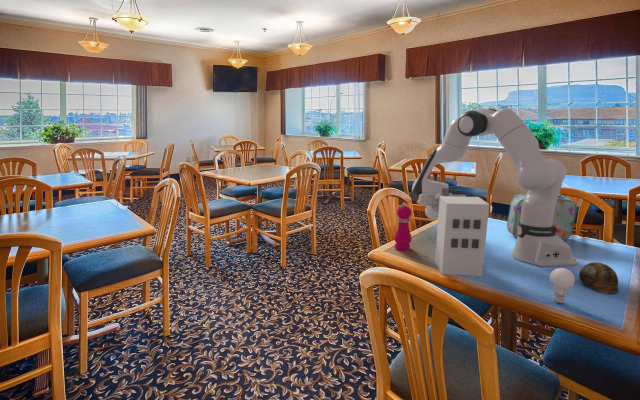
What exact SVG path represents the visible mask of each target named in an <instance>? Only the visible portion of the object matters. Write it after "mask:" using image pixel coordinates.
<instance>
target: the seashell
mask: <svg viewBox="0 0 640 400" xmlns="http://www.w3.org/2000/svg"><path fill="white" fill-rule="evenodd" d="M578 277H579V280H580V282H581V283H582V284H583V285H585V286H588V287H589V288H591V289H593V290H595V291H596V292H600V293H601V294H605V293H607V294H606V295H613V294H617V293H619V277H618V275H617V273H616V271H615V270H614V269H613V268H612V267H610V266H609V265H608V264H605V263H602V262H595V261H594V262H592V261H591V262H590V263H587V264H586V265H585V264H584V266H583V267H581V269H580V271H579V276H578Z"/></svg>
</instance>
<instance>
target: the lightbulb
mask: <svg viewBox="0 0 640 400" xmlns="http://www.w3.org/2000/svg"><path fill="white" fill-rule="evenodd" d="M575 280H576V277H575V276H574V274H573V272H572V271H571V270H569V268H568V269H567V268H564V267H558V268H555V269H553V270H552V271H551V273H550V275H549V281H550V283H551V285H552V287H553V292H554V296H553V301H555V303H557V304H563V303H565V297H566V294H568V293H567V292H568V291H569V290H570V289H571V288H572V287H573V286H574V284H575Z"/></svg>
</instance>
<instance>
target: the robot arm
mask: <svg viewBox="0 0 640 400" xmlns="http://www.w3.org/2000/svg"><path fill="white" fill-rule="evenodd" d="M491 134H493V135H494V136H495V137H496V139H498V142H499V143H500V144H501V146H502V147H503V149H504V150H505V152H506V153H507V154H508V156H509V158H510V160H511V162H512V164H513V167H514V169H515V171H516V181H517V183H518V185H519V186H520V187H521V188H522V189H524V190H526V191H527V192H526V194H527V195H526V197H525V199H524V200H523V203H522V210H521V219H520V221H519V225H518V231H517V232H518V234H517V235H518V237H517V238H516V242H515V245H514V248H513V250H512V252H511V257H513V258H514V259H515V260H516V259H517V260H518V261H521V262H524V263H529V264H533V265H536V266H539V267H542V268H543V267H567V266H578V260H577V259H576V258H575V257H574V256H573V255H572V250H571V246H570V245H569V244H568V243H567V242H565V240H564V241H563V240H562V239H561V238H560V237H558V236H557V235H556V232H557V233H559V234H560V233H561V232H562V229H561V228H559V227H556V226H554V225H552V224H553V217H554V210H555V205H556V201H557V198H558V195H559V194H561V193H560V192H561V189H562V185H563V182H564V179H566V176H567V169H566V166H565V164H564V163H563V162H561V161H560V160H558V159H554V158H545V157H544V155H543V153H542V151H541V148H540V146H539V141H538V139H537V138H536V136H535V135H534V133H533V132H532V131H531V130H530V128H529V127H528V125H527V124H526V123H525V121H523V120H522V118H521V117H520V116H519V115H518V114H517V113H516V112H515V111H513V110H512V109H511V108H507V107H504V108H500V109H498V110H497V109H494V108H478V109H473V110H468V111H465V112H464V113H462V114H461V115H459V117H458V118H457V117H456V118H454V119H452V121H450V124H449V125H448V127H447V130H446V132H445V135H444V137H443V140H442V142H441V144H440V145H439V146H438V147H436V148H433V149H432V150H431V152H430V153H429V155H428V156H427V159H426V161H425V162H424V164H423V166H422V168H421V170H420V172H419V174H418V176H417V177H416V179H415V180H414V182H413V184H412V187H411V193H412V194H413V196H414V197H415V198H418V200H416V204H418V205H420V206H421V207H423V206H424V207H425V210H424V214H425V216H426V217H427V218H428V219H430V220H438V214H439V200H440V196H443V193H441V190H442V188H448V195H449V196H455V197H467V195H466V194H453V190H452V188H451V186H450V185H449V183H445V182H441V181H436V180H432V179H429V178H428V177H429V176H430V174H431V172H432V170H433V168H434V167H435V166H437V165H439V164H442V163H443V164H445V163H452V162H456V161H459V160H460V159H462V158H463V157H464V156H465V154H466V153H467V150H468V147H469V144H470V141H471V139H472V138H473V137H483V136H486V135H491Z"/></svg>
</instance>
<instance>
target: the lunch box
mask: <svg viewBox="0 0 640 400" xmlns="http://www.w3.org/2000/svg"><path fill="white" fill-rule="evenodd" d="M526 195H527V193H518V194H515V195H514V196H513V197H512V198H511V200H510V205H509V210H508V211H509V212H508V216H507V217H508V218H507V223H506V228H507V231H508V233H510V234H511V235H512V236H513V237H514V238H515V239H517V237H518V235H517V234H518V232H517V231H518V225H519V221H520V219H521V210H522V203H523V200H524V199H525V197H526ZM576 213H577V203H576V202H575V201H574V200H572V199H570V198H569V197H567V196H565V195H564V194H561V193H559V195H558V198H557V201H556V205H555V210H554V217H553V224H552V225H554V226H556V227H559V228H561V229H562V232H561V233H560V234H559V233H557V232H556V235H557V236H558V237H560V238H561V239H562V240H563V241H564V242H565V241H567V240H568V239H570V237H571V236H572V234H573V232H574V231H573V230H574V224H575V220H576Z"/></svg>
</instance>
